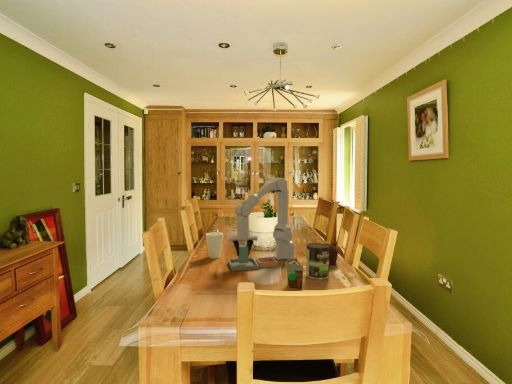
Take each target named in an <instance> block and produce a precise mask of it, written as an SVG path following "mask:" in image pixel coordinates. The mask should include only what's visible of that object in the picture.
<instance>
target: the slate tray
mask: <svg viewBox="0 0 512 384" xmlns="http://www.w3.org/2000/svg"><path fill="white" fill-rule="evenodd" d="M227 264H228V266H229V268H230V269H231V272H238V271H240V272H241V271H254V270H260V268H259V265H258V263H257V262H256V259H255V258H253V257H248V263H241V264H239V262H238V258H230V259H229V258H228V262H227Z"/></svg>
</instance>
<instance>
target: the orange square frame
mask: <svg viewBox="0 0 512 384" xmlns="http://www.w3.org/2000/svg"><path fill="white" fill-rule="evenodd" d="M255 261H256V262H257V263H258V265H259V269H260V268H261V269H262V268H273V267H275V268H277V267H278V265H279V264H278V263H279V262H278V260H277V259H275V257H274V256H265V257H255Z"/></svg>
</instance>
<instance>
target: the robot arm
mask: <svg viewBox="0 0 512 384" xmlns="http://www.w3.org/2000/svg"><path fill="white" fill-rule="evenodd" d="M288 189H289V188H288V181H287V180H286V179H285V178H283V177H269V178H268V179H267V180H266V181H265V182H264V184H263V185H262V186H261V187H260V188H259V189H258V190H257V192H255V193H251V194H249V195H248V196H247V198H246V199H244V200H242V202H241V203H239V204H236V207H235V208H234V214H235V215H236V236H231V237H228V238H227V241H228V242H229V243H233V245H234V248H235V252H236V255H237V257H238V256H239V245H240V242H246V245H247V246H248V256H250V254H251V253H250V252H251V250H252V247H253V246H254V245H253V244H254V241H255V242H257V241H258V238H259V237H258V236H257V235H249V234H250V233H249V227H250V225H249V222H250V221H249V219H250V218H249V216H250V215H251V214H252V211H253V209H254V208H255V207H256V206H257V205H258V204H260V199H262V198H263V197H264V196H265V195H266V194H268V193H269V192H270V191H272V192H274V193H276V194H277V222H276V224H275V226H274V230H273V233H272V237H273V239H274V241H275V255H274V254H273V258H274V259H275V258H276V259H275V260H277V261H278V260H288V259H292V258H295V257H294V256H295V253H294V252H295V249H294V248H295V246H294V242H293V241H292V239H293V232H292V227H291V226H290V224H289V223H288V221H289V220H288V217H289V214H288V213H289V190H288Z"/></svg>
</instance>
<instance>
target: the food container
mask: <svg viewBox="0 0 512 384" xmlns="http://www.w3.org/2000/svg"><path fill="white" fill-rule="evenodd" d="M284 267H285V268H286V276H287V279H286V280H287V286H288V287H289V288H291V289H297V290H303V283H304V282H303V281H304V280H303V278H304V276H303V275H304V265H302V264H301V263H300V262H299V261H298V257H294V258H292V259H286V261H285V266H284Z"/></svg>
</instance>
